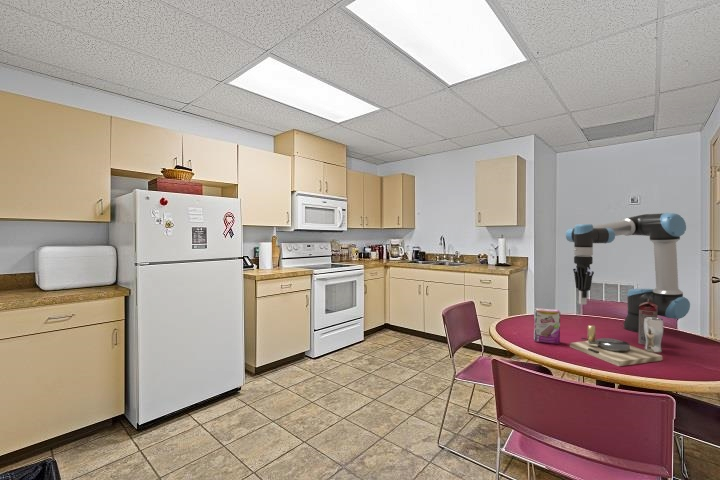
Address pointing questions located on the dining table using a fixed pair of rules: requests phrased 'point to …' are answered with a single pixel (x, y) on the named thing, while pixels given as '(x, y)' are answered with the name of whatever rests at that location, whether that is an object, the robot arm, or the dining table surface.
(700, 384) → the dining table surface
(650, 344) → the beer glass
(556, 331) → the candy bar box
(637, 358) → the stand
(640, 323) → the juice carton
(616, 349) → the grey round handled piece
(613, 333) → the dining table surface
